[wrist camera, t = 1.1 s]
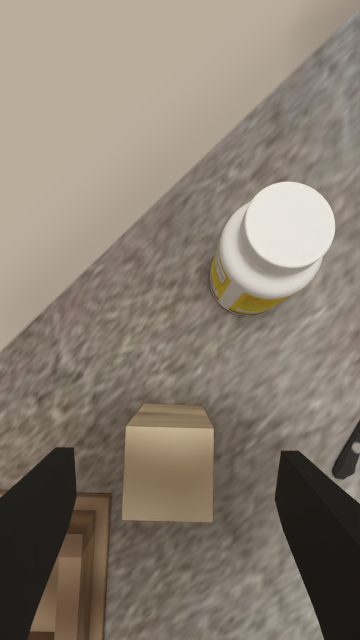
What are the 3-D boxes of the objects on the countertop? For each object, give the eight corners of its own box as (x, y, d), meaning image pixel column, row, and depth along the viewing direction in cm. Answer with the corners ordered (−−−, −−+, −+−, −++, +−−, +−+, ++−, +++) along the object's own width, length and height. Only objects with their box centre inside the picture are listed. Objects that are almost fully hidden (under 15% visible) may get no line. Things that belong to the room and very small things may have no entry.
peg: (200, 465, 22) (212, 522, 15) (141, 463, 22) (121, 519, 15) (201, 404, 23) (213, 428, 15) (144, 403, 23) (126, 426, 15)
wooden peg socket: (102, 660, 21) (86, 721, 17) (-55, 656, 21) (-103, 716, 17) (110, 493, 22) (97, 519, 19) (-39, 489, 22) (-80, 514, 19)
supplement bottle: (297, 279, 24) (378, 224, 14) (247, 332, 24) (295, 312, 14) (243, 229, 25) (285, 142, 15) (192, 280, 24) (201, 225, 14)
